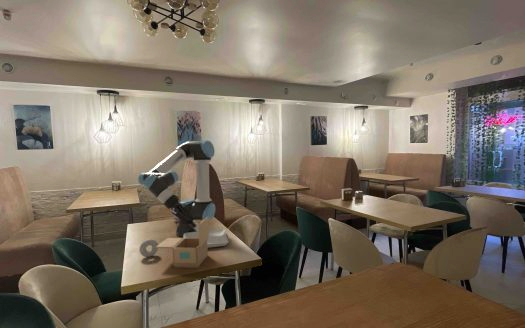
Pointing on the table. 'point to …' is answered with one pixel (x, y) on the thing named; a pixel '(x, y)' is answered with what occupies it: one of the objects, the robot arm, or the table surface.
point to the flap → (203, 231)
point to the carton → (186, 251)
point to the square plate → (211, 237)
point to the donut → (147, 243)
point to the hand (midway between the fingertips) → (200, 230)
